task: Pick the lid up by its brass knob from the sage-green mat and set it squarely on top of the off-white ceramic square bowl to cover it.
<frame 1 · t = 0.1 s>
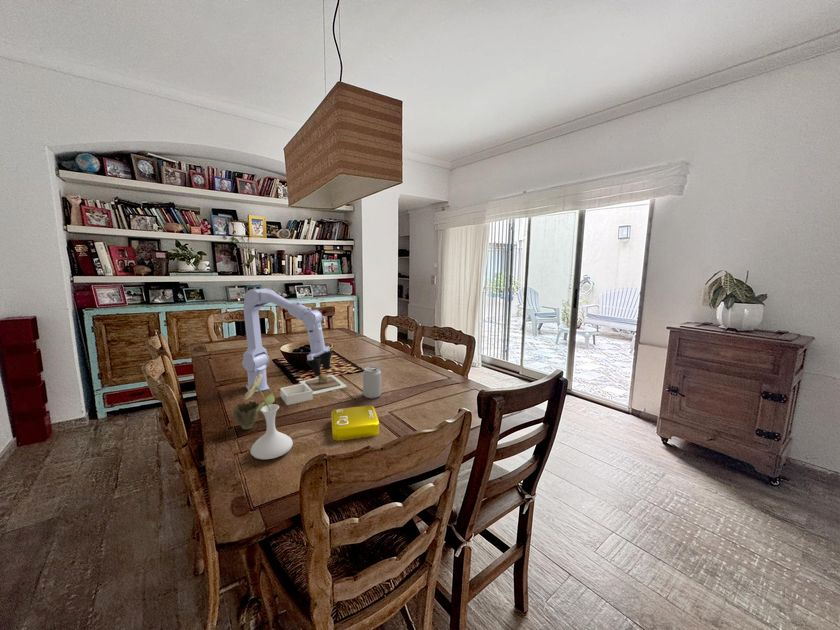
hand: (322, 372, 133), 10 cm above the table, tool pointing down, fingers open, 7 cm apart
flower in vase: (270, 454, 95), on the table
can: (372, 396, 137), on the table
lid: (322, 383, 148), resting on mat
mat: (322, 384, 148), on the table
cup: (247, 428, 109), on the table
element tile: (354, 428, 111), on the table
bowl: (296, 398, 132), on the table
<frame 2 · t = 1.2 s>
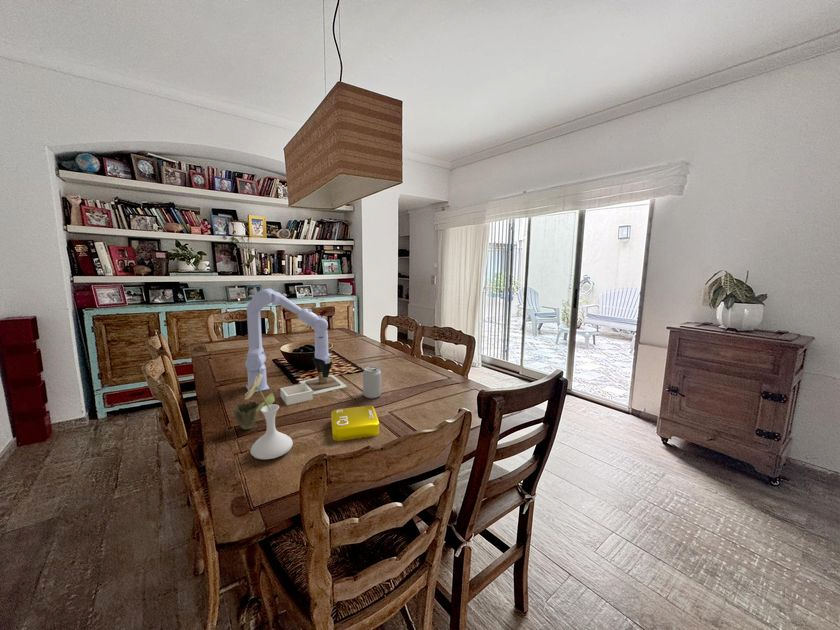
hand: (322, 374, 147), 5 cm above the table, tool pointing down, fingers open, 7 cm apart
nothing on the table moved.
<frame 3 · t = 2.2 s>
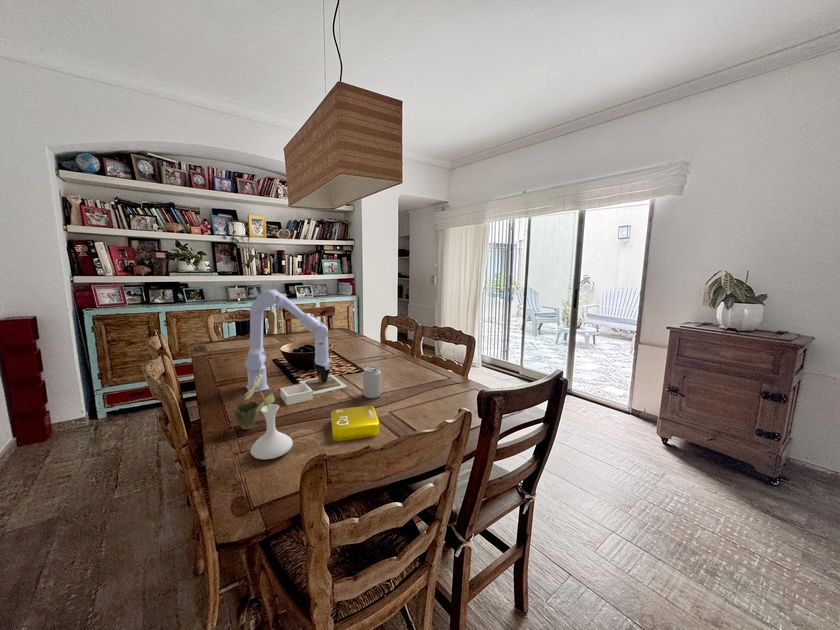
hand: (322, 380, 147), 2 cm above the table, tool pointing down, fingers closed on lid, 4 cm apart
lid: (322, 383, 148), resting on mat, touching gripper
everything else where it was.
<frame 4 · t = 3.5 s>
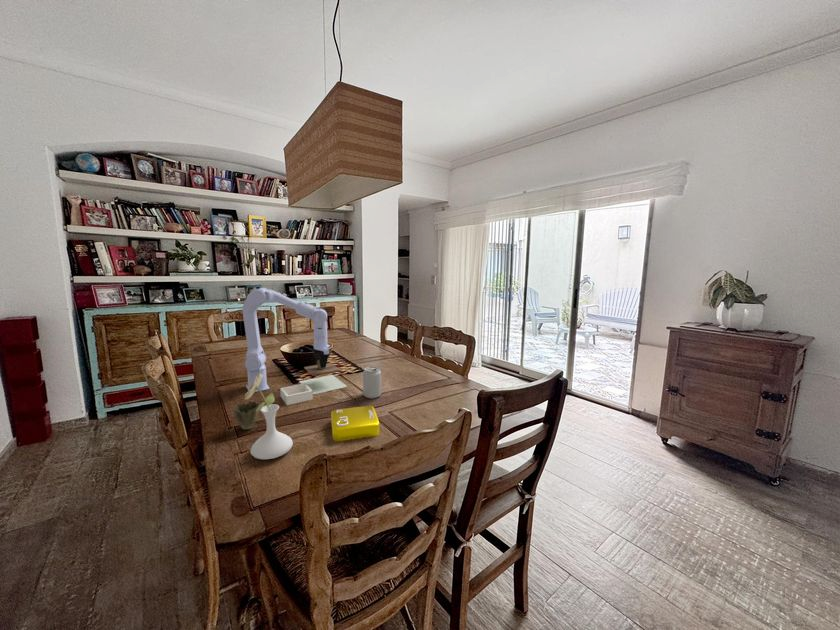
hand: (321, 366, 146), 9 cm above the table, tool pointing down, fingers closed on lid, 4 cm apart
lid: (321, 369, 146), point 7 cm above the table, touching gripper
everything else where it was.
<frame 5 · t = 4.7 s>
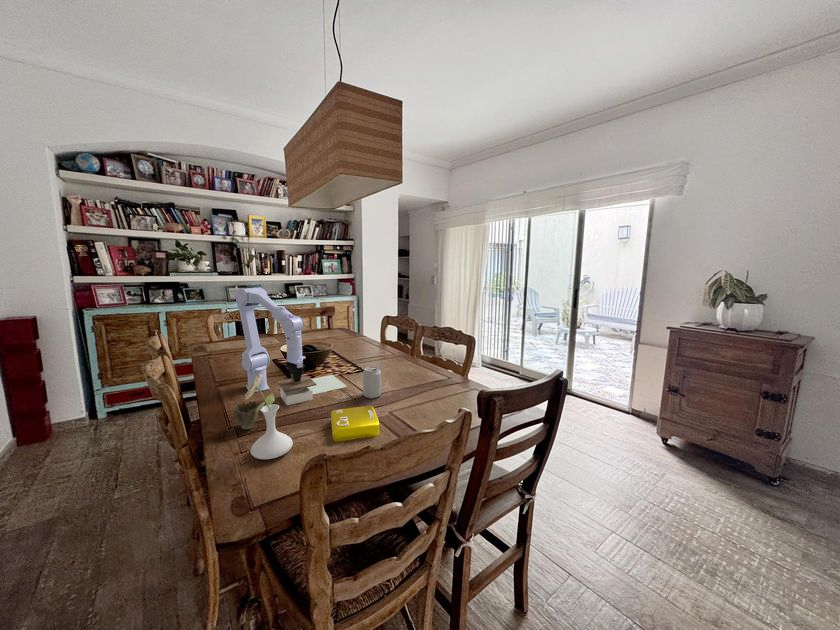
hand: (295, 380, 131), 8 cm above the table, tool pointing down, fingers closed on lid, 4 cm apart
lid: (296, 383, 132), point 6 cm above the table, touching gripper
everything else where it was.
when the fingers open (7 cm above the table, at t = 5.2 s): lid drops 1 cm, resting on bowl.
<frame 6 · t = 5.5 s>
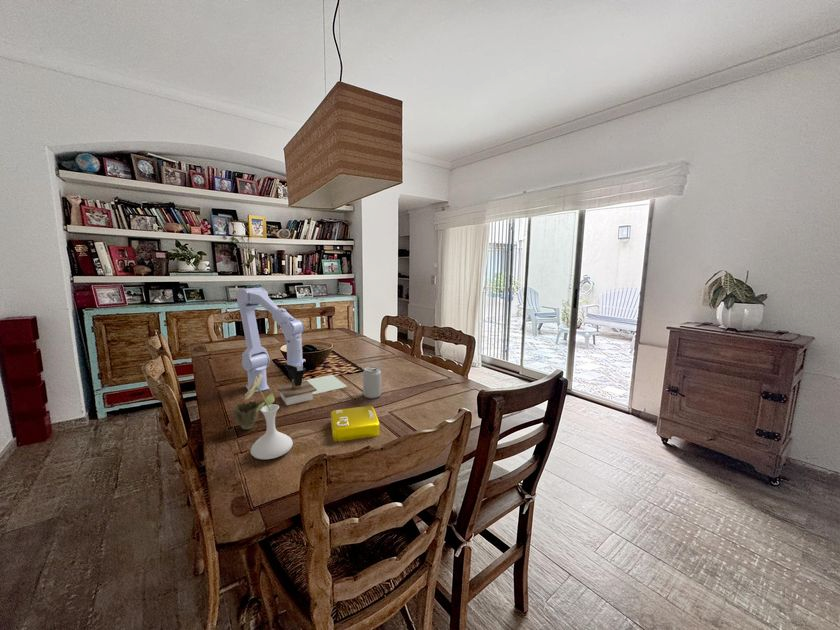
hand: (296, 382, 131), 7 cm above the table, tool pointing down, fingers open, 6 cm apart
lid: (296, 389, 132), point 4 cm above the table, touching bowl
everything else where it was.
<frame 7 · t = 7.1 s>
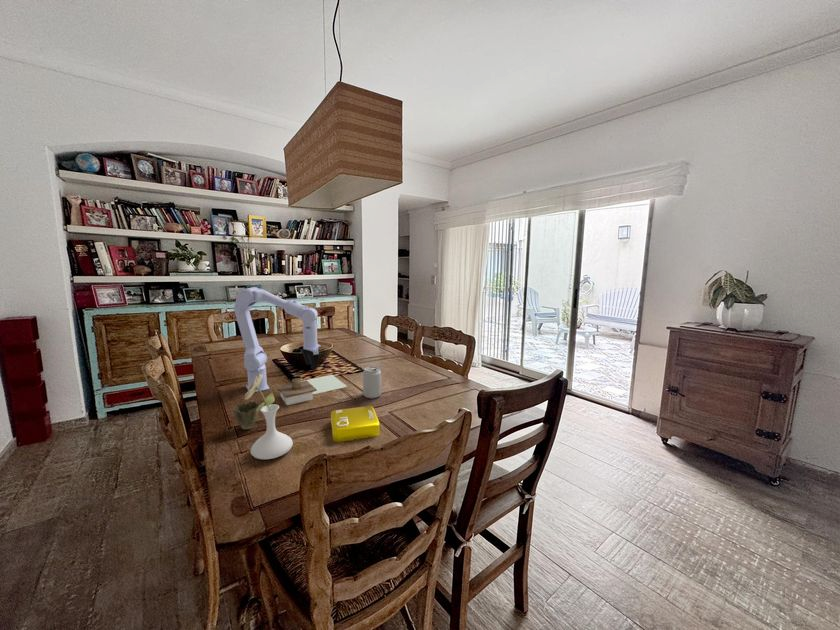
hand: (311, 366, 142), 10 cm above the table, tool pointing down, fingers open, 7 cm apart
nothing on the table moved.
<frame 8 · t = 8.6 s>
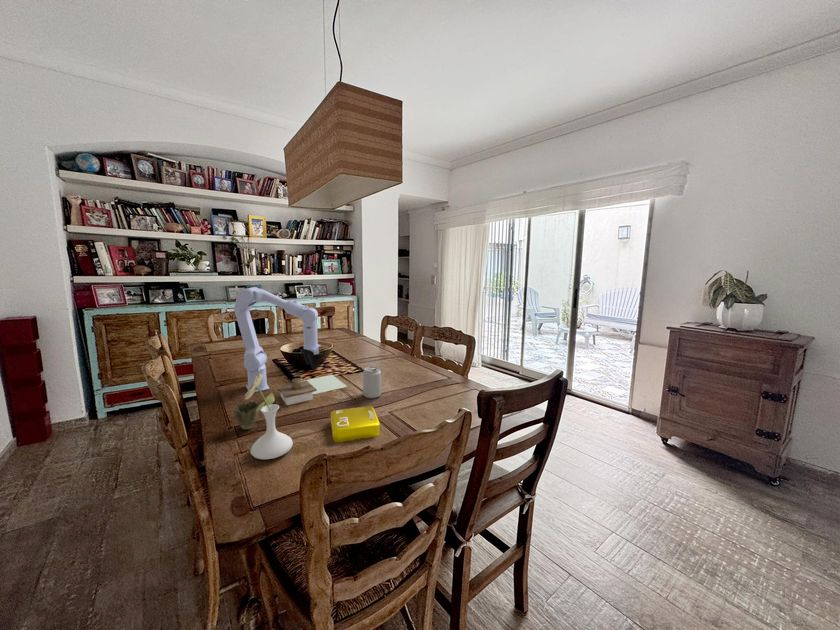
hand: (311, 366, 142), 10 cm above the table, tool pointing down, fingers open, 7 cm apart
nothing on the table moved.
at the end: lid 0.2 cm off-centre on the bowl, point 4.0 cm above the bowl's base; lid tilted 0°; the gripper is holding nothing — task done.
